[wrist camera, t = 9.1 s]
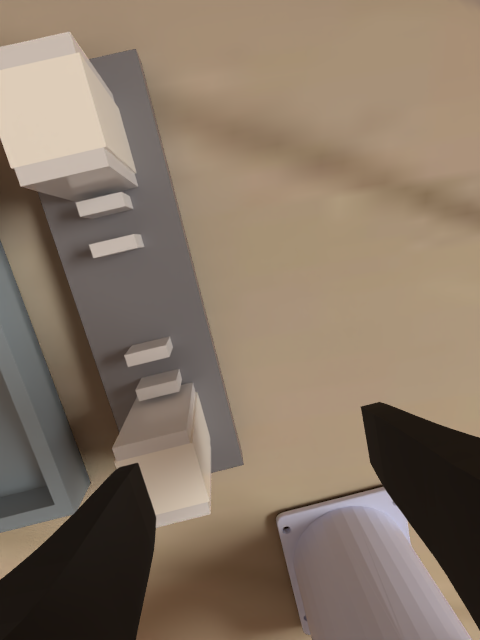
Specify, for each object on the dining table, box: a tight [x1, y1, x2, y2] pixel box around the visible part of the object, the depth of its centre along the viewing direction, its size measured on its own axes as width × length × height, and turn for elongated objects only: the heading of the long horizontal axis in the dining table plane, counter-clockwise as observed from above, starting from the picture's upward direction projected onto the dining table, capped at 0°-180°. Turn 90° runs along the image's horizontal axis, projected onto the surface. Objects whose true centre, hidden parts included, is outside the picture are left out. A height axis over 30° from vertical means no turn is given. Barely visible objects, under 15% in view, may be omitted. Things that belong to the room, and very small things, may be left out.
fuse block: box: [38, 49, 244, 473], centre depth 18 cm, size 21×6×3 cm, turn 13°
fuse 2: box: [112, 382, 211, 528], centre depth 17 cm, size 4×3×5 cm
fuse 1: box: [0, 32, 138, 202], centre depth 14 cm, size 4×3×5 cm
